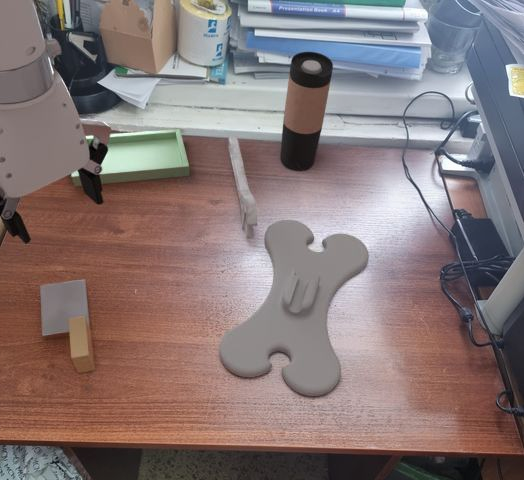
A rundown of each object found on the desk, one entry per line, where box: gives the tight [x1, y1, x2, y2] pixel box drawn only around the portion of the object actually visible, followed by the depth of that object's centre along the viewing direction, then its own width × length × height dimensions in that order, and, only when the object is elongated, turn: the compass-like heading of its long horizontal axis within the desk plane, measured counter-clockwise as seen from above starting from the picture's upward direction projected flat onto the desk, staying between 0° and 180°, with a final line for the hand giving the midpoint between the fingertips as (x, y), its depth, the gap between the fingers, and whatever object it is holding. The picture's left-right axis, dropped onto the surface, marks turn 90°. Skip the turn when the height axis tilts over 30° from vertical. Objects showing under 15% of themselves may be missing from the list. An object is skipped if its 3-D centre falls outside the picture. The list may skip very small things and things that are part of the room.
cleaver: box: [39, 278, 96, 374], centre depth 77 cm, size 17×7×4 cm, turn 14°
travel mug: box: [279, 51, 334, 172], centre depth 97 cm, size 8×8×20 cm
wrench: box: [228, 136, 258, 239], centre depth 96 cm, size 8×2×30 cm
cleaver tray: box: [70, 128, 191, 187], centre depth 100 cm, size 22×12×2 cm, turn 103°
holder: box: [218, 219, 370, 397], centre depth 83 cm, size 19×34×5 cm, turn 164°
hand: (59, 216), depth 59 cm, fingers open, 9 cm apart
